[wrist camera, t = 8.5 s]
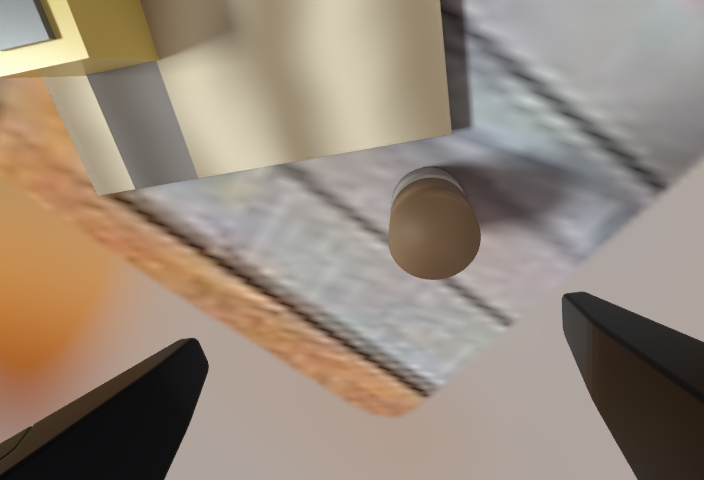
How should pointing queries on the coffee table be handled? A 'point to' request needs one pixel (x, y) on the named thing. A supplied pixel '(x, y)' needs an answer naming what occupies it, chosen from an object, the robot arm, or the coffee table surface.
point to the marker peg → (432, 225)
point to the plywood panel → (259, 88)
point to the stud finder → (72, 37)
